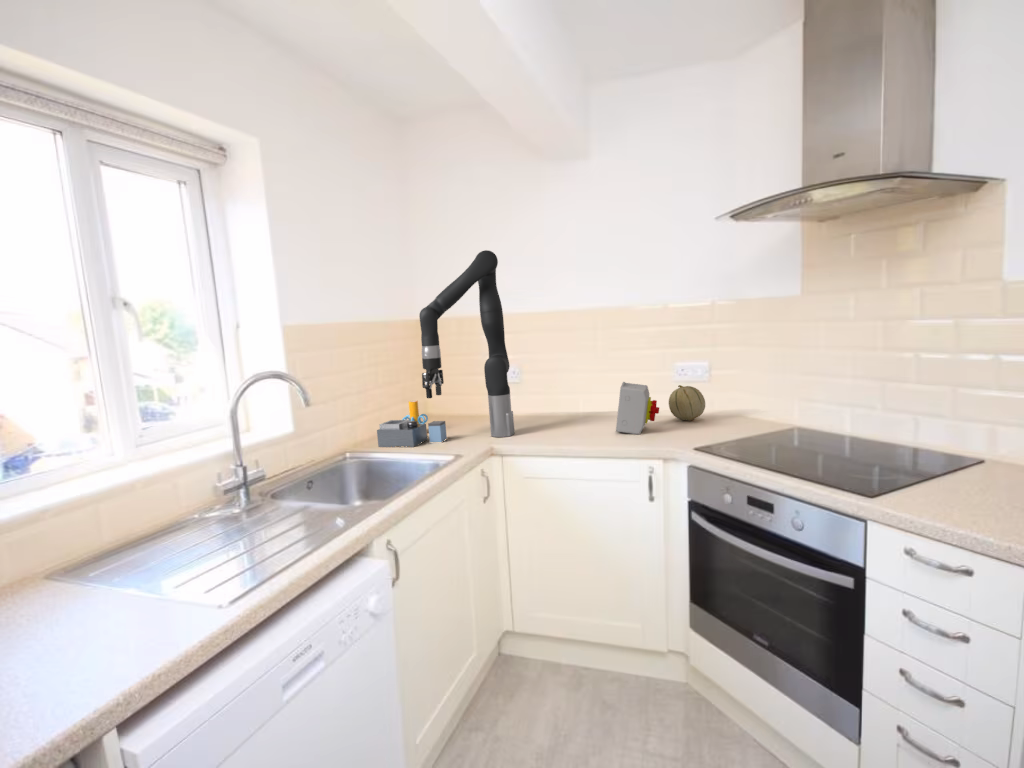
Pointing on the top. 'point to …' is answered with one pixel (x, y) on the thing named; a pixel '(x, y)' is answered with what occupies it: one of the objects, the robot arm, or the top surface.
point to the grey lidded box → (437, 431)
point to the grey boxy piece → (401, 433)
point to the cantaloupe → (686, 403)
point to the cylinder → (415, 413)
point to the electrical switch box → (635, 408)
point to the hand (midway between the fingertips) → (434, 396)
